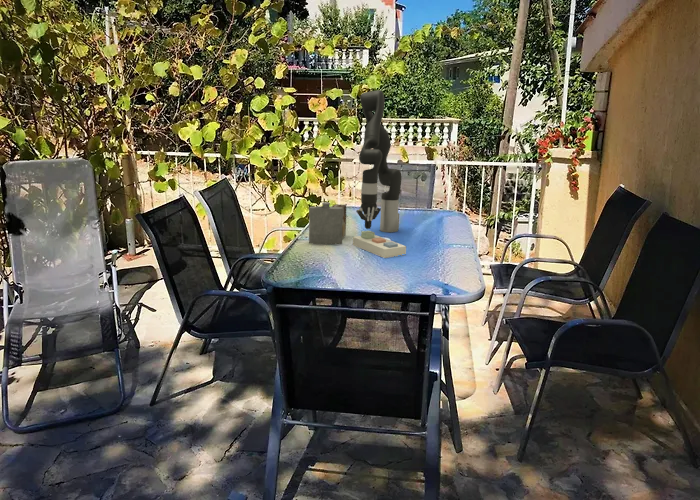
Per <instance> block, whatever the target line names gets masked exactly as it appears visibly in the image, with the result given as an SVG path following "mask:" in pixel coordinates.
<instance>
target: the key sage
mask: <svg viewBox="0 0 700 500" xmlns="http://www.w3.org/2000/svg"><path fill="white" fill-rule="evenodd" d="M375 235H376V233H375V232H374V231H372V230H364V231H363V230H362V231H361V233H360V236H361V237H362V238H365V239H371V238H375Z"/></svg>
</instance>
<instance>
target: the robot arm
mask: <svg viewBox="0 0 700 500" xmlns="http://www.w3.org/2000/svg"><path fill="white" fill-rule="evenodd" d="M359 97H360V104H361V109H362V112H363V114H364V119H365V121H366V124H367V125H366V127H365V129H364V137H363V145H362V147H361V150H360V152H359V156H358V159H359V162H360V163H361V165H372V166H373V167H372V168H369V169H364V170H362V178H361V179H362V180H361V193H360V194H361V195H360V203H361V204H360V208H359V209H356V213H357V214H358V216H359V217H360V219H361V220H362V221H364V228H365V229H367V230H369V229H371V228H372V221H373V220H375V219H376V218H377V217H378V215H379V214H380V220H379V223H380V224H379V231H380V232H383V233H397V232H399V231H398V230H399V229H400V228H399V227H400V213H399V204H400V203H399V200H400V196H401V190H402V189H401V187H402V179H403V177H402V172H401V170H400V169H397V168H389V165H388V161H387V160H388V159H387V158H388V155H389V153H390V150H391V148H392V145H391V143H392V142H391V139H390V135H389V132H388V130H387V129H386V128H385V127H384V126H383V125H382V120H383V117H384V116H383V115H384V111H385V110H384V109H385V105H386V104H385V103H386V101H385V100H386V99H385V95H384V92H383V90H379V89H377V90H372V91H366V92H362V93H361V94H360V96H359ZM373 112H374V114H373ZM378 180H379V183H380V184H381V185H382V186H385V187H389V189H388V191H386V192H382V194H381V196H380V197H381V198H380V199H381V201H380V208H379V207H378V204H377V202H378V190H379V189H378V188H379V187H378Z"/></svg>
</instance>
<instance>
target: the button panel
mask: <svg viewBox="0 0 700 500" xmlns="http://www.w3.org/2000/svg"><path fill="white" fill-rule="evenodd" d="M375 238H383V239H385V240H386V242H384V243H387V242H393V243H396V244H398V247H392V248H388V247H386V246H383V243H375V242H373V241H372V239H373V238H371V239H365V238H362V237H361V235H358V236H353V237H352V245H353V246H354V247H357V248H358V249H362V250H363V251H366V252H369V253H370V254H373V255H376V256H378V257H381V258H383V259H388V258H394V256H395V257H399V256H398V255H401V256H403V255H402V254H406V253H407V246H406V245H403V244H402V243H398V242H397V241H393V240H390V239H387V238H385V237H382V236H379V235H376V234H375Z"/></svg>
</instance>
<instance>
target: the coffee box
mask: <svg viewBox="0 0 700 500" xmlns="http://www.w3.org/2000/svg"><path fill="white" fill-rule="evenodd" d="M331 207H342V208H343V223H342V240H343V239H344V238H345V237H346V236H347V235H346V234H347V204H336V203H335V204H333V205H332V206H331Z"/></svg>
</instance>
